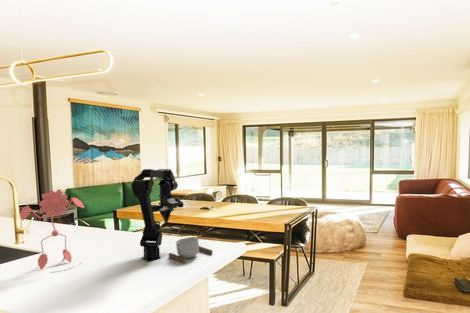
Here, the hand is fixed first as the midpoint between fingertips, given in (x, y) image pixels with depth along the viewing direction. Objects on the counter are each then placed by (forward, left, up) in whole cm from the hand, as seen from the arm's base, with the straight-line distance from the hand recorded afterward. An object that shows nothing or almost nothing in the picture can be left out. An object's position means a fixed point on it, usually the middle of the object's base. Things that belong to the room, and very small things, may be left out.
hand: (166, 222), depth 180 cm
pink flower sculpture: (-50, +12, -13) cm, 53 cm away
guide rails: (0, -21, -13) cm, 25 cm away
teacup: (0, -20, -13) cm, 24 cm away
